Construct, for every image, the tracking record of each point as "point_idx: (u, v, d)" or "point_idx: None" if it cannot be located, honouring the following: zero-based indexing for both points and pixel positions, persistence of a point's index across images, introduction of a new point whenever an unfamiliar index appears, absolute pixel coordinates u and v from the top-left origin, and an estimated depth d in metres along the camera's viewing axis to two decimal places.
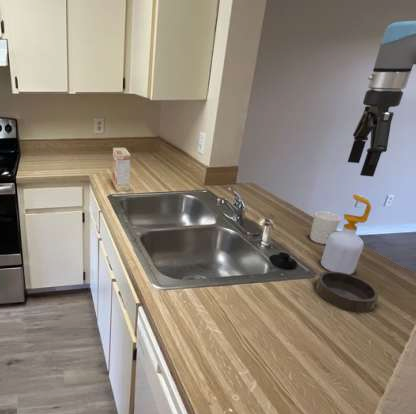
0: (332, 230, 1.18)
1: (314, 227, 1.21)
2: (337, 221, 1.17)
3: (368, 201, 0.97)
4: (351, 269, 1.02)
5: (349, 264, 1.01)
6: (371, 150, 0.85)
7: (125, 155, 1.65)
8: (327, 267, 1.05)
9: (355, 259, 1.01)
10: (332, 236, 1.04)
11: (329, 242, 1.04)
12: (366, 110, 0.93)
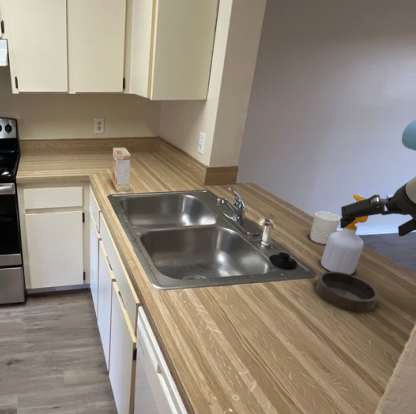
0: (332, 230, 1.18)
1: (314, 227, 1.21)
2: (337, 221, 1.17)
3: None
4: (351, 269, 1.02)
5: (349, 264, 1.01)
6: None
7: (125, 155, 1.65)
8: (327, 267, 1.05)
9: (355, 259, 1.01)
10: (332, 236, 1.04)
11: (329, 242, 1.04)
12: None
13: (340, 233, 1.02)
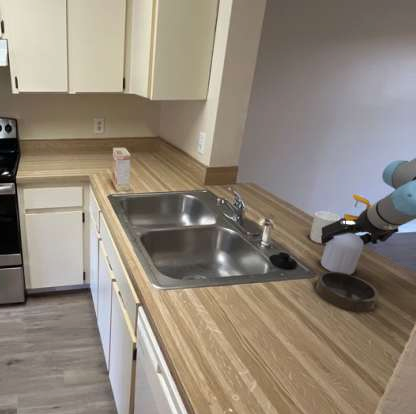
0: None
1: (314, 227, 1.21)
2: None
3: (368, 201, 0.97)
4: (351, 269, 1.02)
5: (349, 264, 1.01)
6: None
7: (125, 155, 1.65)
8: (327, 267, 1.05)
9: (355, 259, 1.01)
10: None
11: (329, 242, 1.04)
12: None
13: None
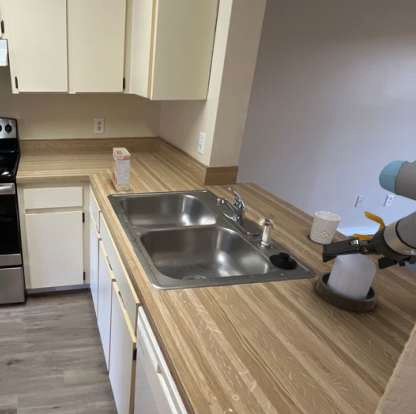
0: (332, 230, 1.18)
1: (314, 227, 1.21)
2: (337, 221, 1.17)
3: (382, 220, 0.84)
4: (362, 297, 0.89)
5: (359, 291, 0.88)
6: None
7: (125, 155, 1.65)
8: None
9: (366, 286, 0.88)
10: (339, 259, 0.90)
11: (336, 265, 0.91)
12: None
13: (349, 255, 0.89)
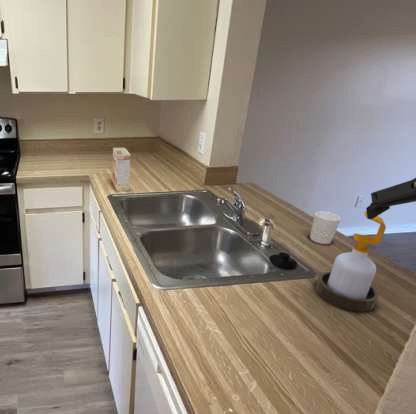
0: (332, 230, 1.18)
1: (314, 227, 1.21)
2: (337, 221, 1.17)
3: (382, 220, 0.84)
4: (362, 297, 0.89)
5: (359, 291, 0.88)
6: None
7: (125, 155, 1.65)
8: None
9: (366, 286, 0.88)
10: (339, 259, 0.90)
11: (336, 265, 0.91)
12: None
13: (349, 255, 0.89)
